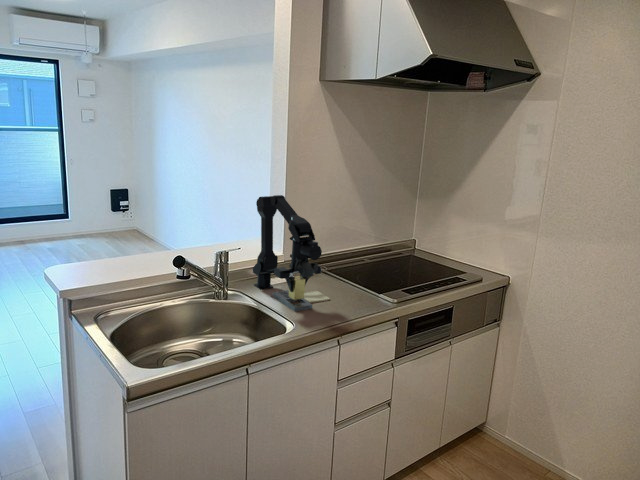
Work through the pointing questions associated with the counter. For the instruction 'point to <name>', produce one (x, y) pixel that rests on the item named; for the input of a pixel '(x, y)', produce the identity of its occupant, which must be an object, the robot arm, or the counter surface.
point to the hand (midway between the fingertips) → (296, 291)
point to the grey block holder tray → (285, 299)
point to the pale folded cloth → (315, 297)
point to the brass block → (298, 288)
